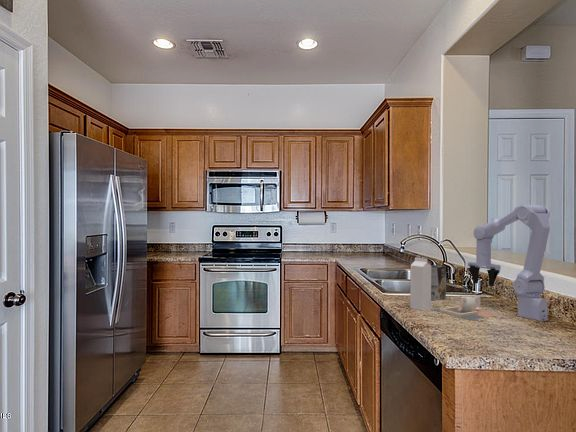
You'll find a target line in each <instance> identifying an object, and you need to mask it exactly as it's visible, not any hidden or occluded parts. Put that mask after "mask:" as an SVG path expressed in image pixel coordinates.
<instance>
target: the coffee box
mask: <svg viewBox="0 0 576 432" xmlns="http://www.w3.org/2000/svg"><path fill="white" fill-rule="evenodd" d="M430 265H431V264H430ZM446 299H447V265H440V264H439V265H438V264H432V265H431V302H434V301H441V300H446Z"/></svg>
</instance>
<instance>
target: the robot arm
mask: <svg viewBox="0 0 576 432" xmlns="http://www.w3.org/2000/svg"><path fill="white" fill-rule="evenodd" d="M550 215H551V211H550V210H549V209H548V208H547V207H546V206H545V205H544V204H524V203H523V204H520V205H518V206H516V207H514V209H513V210H512V211H510V212H509V213H507V214H506V215H504V216H503V217H501V218H492V219H491V221H489V222H487V223H484V224H483V225H482V226H480V225H479V226H476V227H475V228H474V229H473V237H474V238H475V240H476V252H475V253H476V254H475V255H476V261H475V262H474V261H468V262H467V269H468V271H469V273H470V276H471V278H472V282H473V284H478V283H479V274H480V269H487V270H486V272H487V275H488V286H489V287H494V286H495V282H496V279H497V277H498V275H499V274H500V272H501V265H500V264H493V263H492V242H493V239H494V237H495V235H498V234H500V233H501V232H503V231H504V230H505V228H506V226H509V225H510V224H513V223H515V222H517V221H519V220H520V221H521V222H522V223H523V225H526V226H527V227H528V228H529V229H530V230H531V232H530V238H529V241H528V242H529V243H528V245H527V251H526V255H525V260H524V266H523V269H522V270H521V271H519V273H518V274H517V275H516V278H515V280H514V281H513V283H512V287H513V290H514V292H515V293H516V295H517V316H519V317H521V318H525V319H526V318H527V319H532V320H536V323H541V322H547V321H550V319H549V317H548V314H549V309H548V308H549V302H548V300H547V299H546V298H544V297H541V295H542V294H543V292H544V291H545V289H546V288H545V276H543V274H542V273H541V269H542V266H543V261H544V256H545V252H546V248H547V244H548V239H549V234H550V230H551V225H550V220H549V219H550Z"/></svg>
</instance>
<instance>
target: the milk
mask: <svg viewBox="0 0 576 432" xmlns="http://www.w3.org/2000/svg"><path fill="white" fill-rule="evenodd" d="M409 285H410V295H409V296H410V298H409V299H410V303H409V305H410V309H414V310H416V311H417V310H418V311H422V312H423V311H428V310H432V301H431V264H430V263H429V262H428V258H425V257H414V261H413V262H412V263H411V264H410V284H409Z"/></svg>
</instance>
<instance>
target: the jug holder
mask: <svg viewBox="0 0 576 432" xmlns="http://www.w3.org/2000/svg"><path fill="white" fill-rule="evenodd" d="M461 310H462V304H461V305H455V306H448V307H442V308H436V309H435V308H433V309H432V311H434V312H437V313H441V314H445V315H448V316H451V317H456V318H458V319H462V320H467V321H474V320H479V319H486V318H491V317H495V316H496V317H497V316H502V314H501V313H497V312H492V311H487V310H483V309H480V308H477V307H476V308H475V311H474V312H467V313H464V312H462V311H461Z"/></svg>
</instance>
